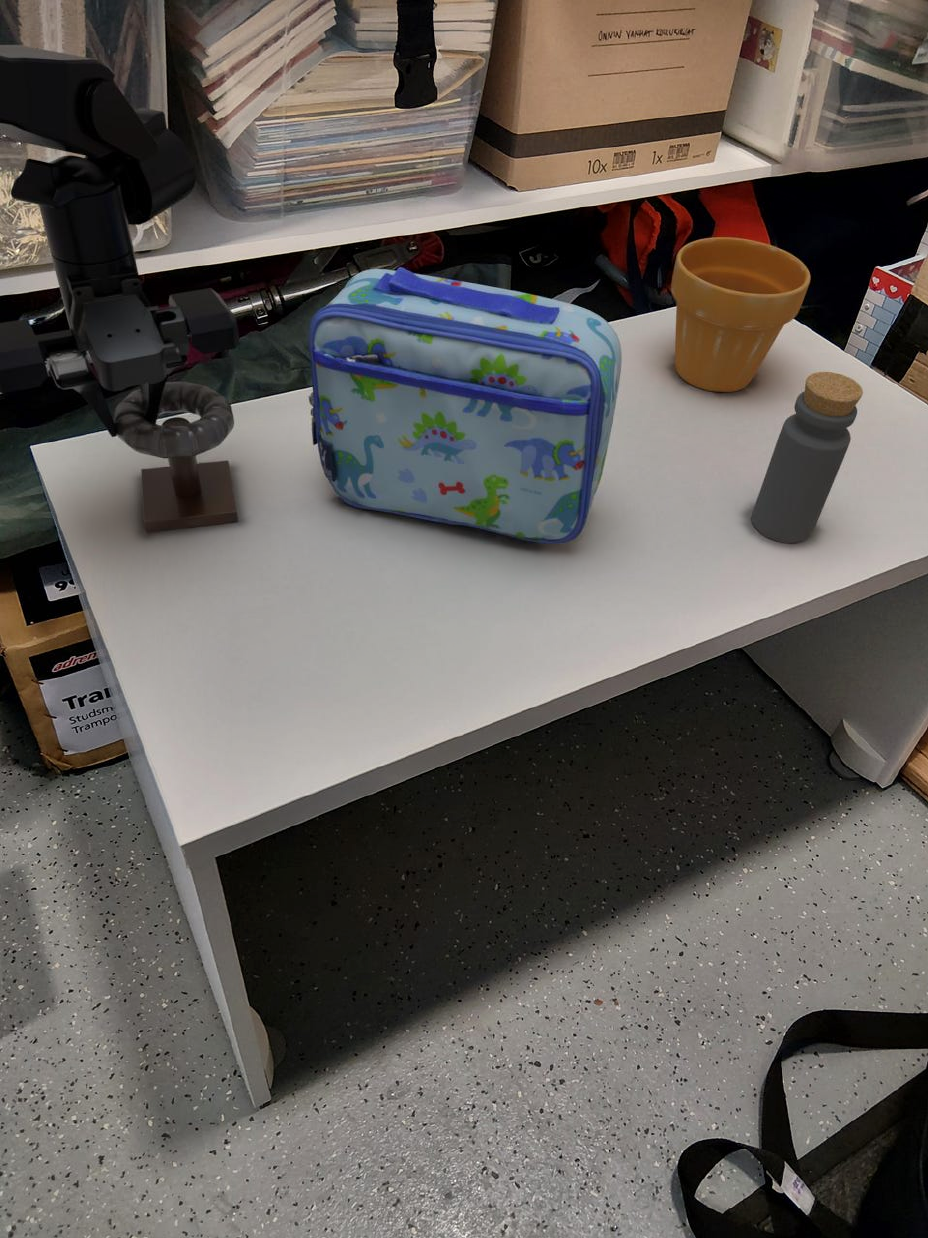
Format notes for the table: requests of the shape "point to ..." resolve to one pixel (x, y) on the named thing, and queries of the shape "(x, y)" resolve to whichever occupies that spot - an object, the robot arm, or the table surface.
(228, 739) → the table surface
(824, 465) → the bottle
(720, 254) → the flower pot
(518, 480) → the lunch box
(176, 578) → the table surface
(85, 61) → the robot arm
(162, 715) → the table surface
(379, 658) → the table surface
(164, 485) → the peg stand
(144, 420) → the ring
